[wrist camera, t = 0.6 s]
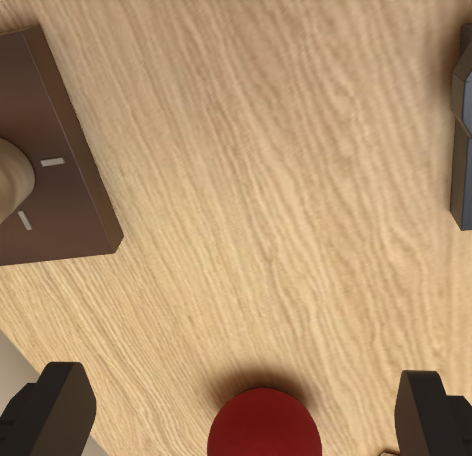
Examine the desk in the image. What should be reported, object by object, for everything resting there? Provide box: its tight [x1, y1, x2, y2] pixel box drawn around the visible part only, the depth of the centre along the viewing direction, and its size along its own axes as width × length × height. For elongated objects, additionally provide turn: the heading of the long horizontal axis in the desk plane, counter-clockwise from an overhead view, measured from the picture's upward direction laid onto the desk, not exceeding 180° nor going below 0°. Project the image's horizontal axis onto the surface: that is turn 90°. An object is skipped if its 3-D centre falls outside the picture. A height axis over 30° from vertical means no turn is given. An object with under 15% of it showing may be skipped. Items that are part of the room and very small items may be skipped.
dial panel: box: [0, 25, 124, 266], centre depth 28 cm, size 14×10×2 cm
